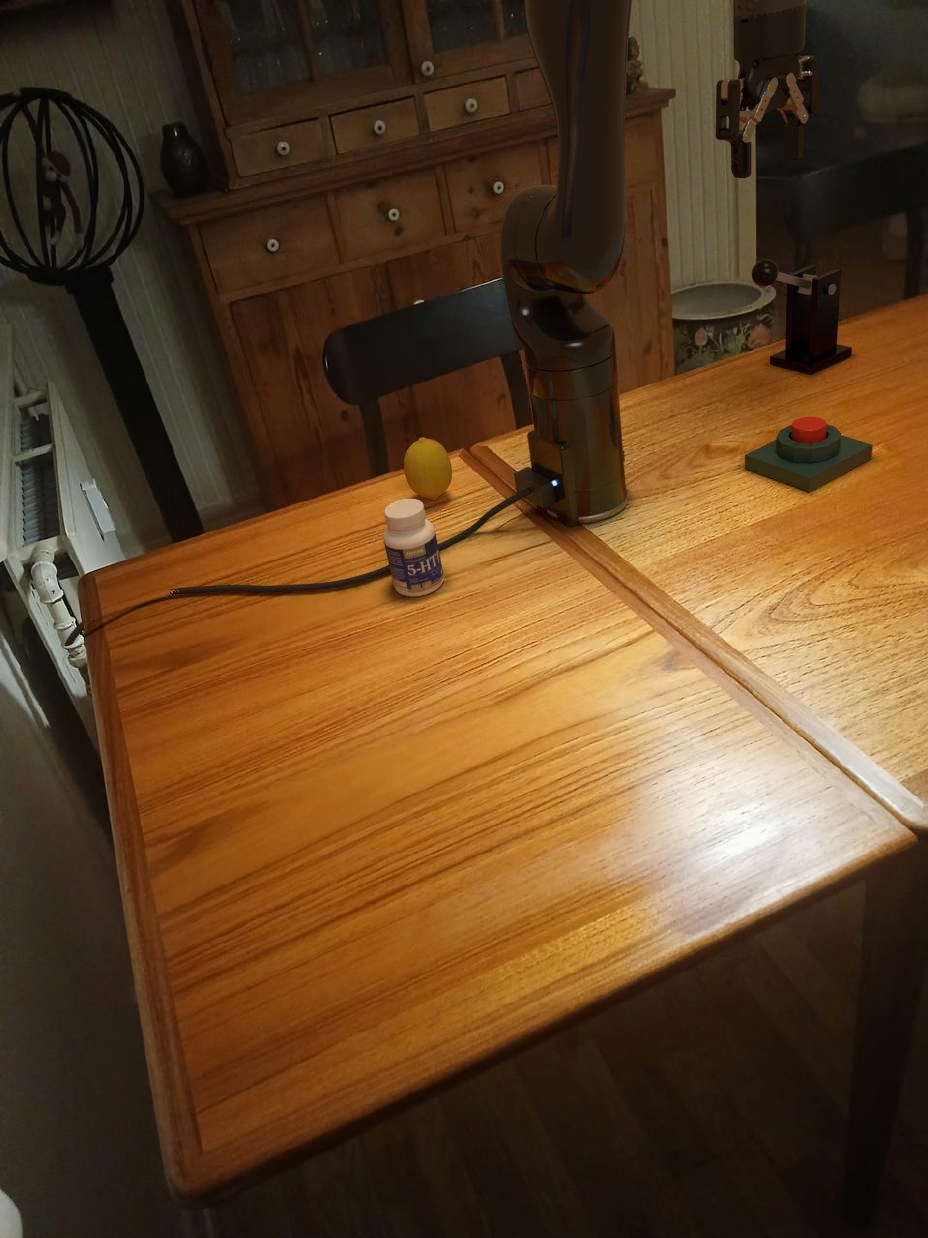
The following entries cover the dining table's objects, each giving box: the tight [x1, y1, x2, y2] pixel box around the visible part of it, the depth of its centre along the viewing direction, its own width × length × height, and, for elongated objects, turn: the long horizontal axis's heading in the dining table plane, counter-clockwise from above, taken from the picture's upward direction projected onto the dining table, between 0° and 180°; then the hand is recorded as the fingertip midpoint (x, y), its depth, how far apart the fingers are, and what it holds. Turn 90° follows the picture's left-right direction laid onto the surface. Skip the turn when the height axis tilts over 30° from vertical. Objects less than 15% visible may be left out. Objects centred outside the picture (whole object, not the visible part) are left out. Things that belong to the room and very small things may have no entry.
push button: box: [791, 416, 828, 443], centre depth 104 cm, size 4×4×2 cm
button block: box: [744, 423, 874, 493], centre depth 105 cm, size 10×9×4 cm
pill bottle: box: [382, 498, 445, 597], centre depth 96 cm, size 5×5×9 cm
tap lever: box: [751, 258, 819, 296], centre depth 121 cm, size 13×3×3 cm, turn 123°
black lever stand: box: [769, 265, 853, 375], centre depth 126 cm, size 8×7×12 cm
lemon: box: [403, 437, 453, 501], centre depth 111 cm, size 6×6×8 cm
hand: (767, 167), depth 112 cm, fingers open, 8 cm apart
